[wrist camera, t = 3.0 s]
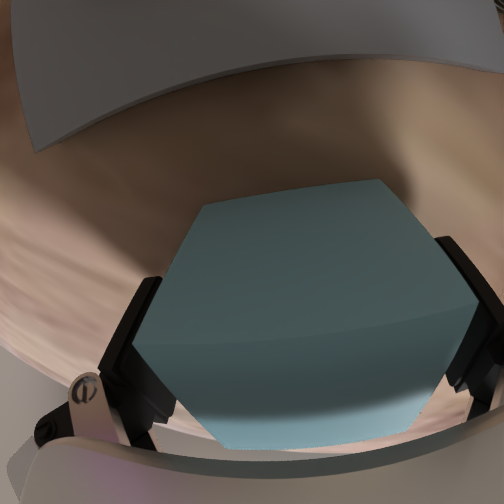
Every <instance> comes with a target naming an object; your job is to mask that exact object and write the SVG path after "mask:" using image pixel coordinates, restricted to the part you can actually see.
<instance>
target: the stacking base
mask: <svg viewBox="0 0 504 504" xmlns="http://www.w3.org/2000/svg"><path fill="white" fill-rule="evenodd" d="M11 35H12V48H13V57H14V65H15V72H16V78H17V84H18V89H19V94H20V99H21V104H22V108H23V112H24V116H25V120H26V124H27V128H28V132H29V135H30V139H31V142H32V145H33V148H34V152H35V153H37V152H40V151H42V150H44V149H46V148H48V147H50V146H53V145H55V144H57V143H60V142H62V141H63V140H65V139H67V138H69V137H70V136H72V135H74V134H76V133H78V132H80V131H81V130H83V129H85V128H87V127H89V126H91V125H93V124H95V123H97V122H99V121H101V120H103V119H105V118H108V117H110V116H112V115H114V114H116V113H118V112H121V111H123V110H125V109H128V108H130V107H132V106H135V105H137V104H140V103H142V102H145V101H147V100H150V99H153V98H155V97H158V96H161V95H164V94H167V93H169V92H172V91H175V90H178V89H182V88H185V87H188V86H191V85H195V84H198V83H201V82H205V81H209V80H212V79H216V78H220V77H224V76H228V75H232V74H237V73H241V72H246V71H251V70H256V69H262V68H267V67H273V66H279V65H286V64H294V63H302V62H311V61H323V60H338V59H399V60H413V61H424V62H433V63H440V64H447V65H453V66H459V67H465V68H470V69H474V70H479V71H483V72H491V73H500V74H504V35H503V30H502V26H501V23H500V19H499V16H498V12H497V9H496V6H495V3H494V0H11Z"/></svg>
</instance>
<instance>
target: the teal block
mask: <svg viewBox="0 0 504 504" xmlns="http://www.w3.org/2000/svg"><path fill="white" fill-rule="evenodd" d="M478 303H479V301H478V299H477V298H476V296H475V295H474V293H473V292H472V290H471V289H470V287H469V286H468V284H467V283H466V281H465V280H464V278H463V277H462V275H461V274H460V273H459V271H458V270H457V268H456V267H455V266H454V264H453V263H452V262H451V260H450V259H449V258H448V256H447V255H446V254H445V252H444V251H443V250H442V248H441V247H440V246H439V245H438V243H437V242H436V241H435V240H434V238H433V237H432V236H431V235H430V234H429V232H428V231H427V230H426V229H425V228H424V226H423V225H422V224H421V223H420V222H419V221H418V219H417V218H416V217H415V216H414V215H413V214H412V213H411V211H410V210H409V209H408V208H407V207H406V206H405V205H404V204H403V203H402V202H401V200H400V199H399V198H398V197H397V196H396V195H395V194H394V193H393V192H392V191H391V190H390V189H389V188H388V187H387V186H386V185H385V184H384V183H383V182H382V181H381V180H380V179H370V180H361V181H352V182H344V183H335V184H328V185H320V186H313V187H306V188H299V189H292V190H285V191H279V192H273V193H266V194H260V195H254V196H249V197H243V198H237V199H232V200H226V201H221V202H216V203H211V204H205V205H203V206H202V208H201V210H200V212H199V213H198V215H197V217H196V219H195V221H194V222H193V224H192V226H191V228H190V230H189V231H188V233H187V235H186V237H185V239H184V240H183V242H182V244H181V246H180V248H179V250H178V252H177V253H176V255H175V257H174V259H173V261H172V263H171V265H170V267H169V269H168V271H167V273H166V275H165V276H164V278H163V280H162V282H161V284H160V286H159V288H158V290H157V292H156V294H155V296H154V298H153V300H152V303H151V305H150V307H149V309H148V311H147V313H146V315H145V317H144V319H143V321H142V323H141V326H140V328H139V330H138V332H137V334H136V336H135V339H134V341H133V343H132V344H133V346H134V347H135V348H136V350H137V351H138V352H139V354H140V355H141V356H142V358H143V359H144V360H145V361H146V363H147V364H148V365H149V367H150V368H151V369H152V370H153V372H154V373H155V374H156V375H157V376H158V378H159V379H160V380H161V381H162V382H163V384H164V385H165V386H166V387H167V388H168V389H169V391H170V392H171V393H172V394H173V395H174V396H175V397H176V398H177V400H178V401H179V402H180V403H181V404H182V405H183V406H184V407H185V408H186V409H187V410H188V412H189V413H190V414H191V415H192V416H193V417H194V418H195V419H196V420H197V421H198V422H199V423H200V424H201V425H202V426H203V427H204V428H205V429H206V430H207V431H208V432H209V433H210V434H211V435H212V436H213V437H214V438H215V439H216V440H217V441H219V442H220V443H221V444H222V445H223V446H224V447H225V448H226V449H241V450H242V449H244V450H281V449H301V448H313V447H323V446H332V445H339V444H346V443H353V442H359V441H364V440H369V439H374V438H379V437H384V436H388V435H392V434H397V433H401V432H404V431H407V430H408V428H409V427H410V426H411V424H412V423H413V422H414V420H415V419H416V418H417V416H418V415H419V413H420V412H421V410H422V409H423V408H424V406H425V405H426V403H427V402H428V400H429V399H430V397H431V395H432V394H433V392H434V391H435V389H436V387H437V386H438V384H439V383H440V381H441V379H442V378H443V376H444V374H445V372H446V371H447V369H448V367H449V365H450V363H451V361H452V360H453V358H454V356H455V354H456V352H457V350H458V348H459V346H460V344H461V342H462V340H463V338H464V336H465V334H466V331H467V329H468V327H469V325H470V322H471V320H472V318H473V315H474V313H475V311H476V308H477V305H478Z"/></svg>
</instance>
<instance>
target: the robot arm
mask: <svg viewBox="0 0 504 504" xmlns="http://www.w3.org/2000/svg"><path fill="white" fill-rule="evenodd" d="M434 240H435V241H436V242H437V243H438V245H439V246H440V247H441V248H442V250H443V251H444V252H445V254H446V255H447V256H448V258H449V259H450V260H451V262H452V263H453V264H454V266H455V267H456V268H457V270H458V271H459V273H460V274H461V275H462V277H463V278H464V280H465V281H466V283H467V284H468V286H469V287H470V289H471V290H472V292H473V293H474V295H475V296H476V298H477V299H478V301H479V303H478V305H477V308H476V311H475V313H474V315H473V318H472V320H471V322H470V325H469V327H468V329H467V331H466V334H465V336H464V338H463V340H462V342H461V344H460V346H459V348H458V350H457V352H456V354H455V356H454V358H453V360H452V361H451V363H450V365H449V367H448V369H447V371H446V372H445V374H446V377H447V380H448V383H449V385H450V386H452V387H453V386H454V389H455V392H456V393H458V392H461V391H463V390H466V389H469V392H470V398H469V401H468V404H467V407H466V410H465V413H464V416H463V419H462V422H461V424H459V425H456V426H454V427H451V428H448V429H446V430H443V431H440V432H437V433H434V434H431V435H428V436H425V437H422V438H419V439H416V440H412V441H409V442H405V443H401V444H398V445H394V446H390V447H385V448H381V449H376V450H371V451H366V452H361V453H355V454H350V455H344V456H337V457H328V458H319V459H309V460H296V461H262V462H261V461H228V460H215V459H204V458H195V457H187V456H180V455H173V454H167V453H164V452H163V450H162V448H161V446H160V444H159V442H158V440H157V438H156V436H155V434H154V432H153V430H152V424H153V422H156V423H163V424H167V422H168V418H169V417H171V416H172V415H173V412H174V408H175V404H176V400H177V398H176V397H175V396H174V395H173V394H172V393H171V392H170V391H169V389H168V388H167V387H166V386H165V385H164V384H163V382H162V381H161V380H160V379H159V378H158V376H157V375H156V374H155V373H154V372H153V370H152V369H151V368H150V367H149V365H148V364H147V363H146V361H145V360H144V359H143V358H142V356H141V355H140V354H139V352H138V351H137V350H136V348H135V347H134V346H133V344H132V343H133V341H134V339H135V336H136V334H137V332H138V330H139V328H140V326H141V323H142V321H143V319H144V317H145V315H146V313H147V311H148V309H149V307H150V305H151V303H152V300H153V298H154V296H155V294H156V292H157V290H158V288H159V286H160V284H161V282H162V280H163V279H162V277H160V276H155V277H147V278H144V279H143V281H142V282H141V284H140V286H139V288H138V290H137V291H136V293H135V295H134V297H133V299H132V300H131V302H130V304H129V306H128V308H127V310H126V312H125V313H124V315H123V317H122V319H121V321H120V323H119V325H118V327H117V329H116V331H115V333H114V335H113V337H112V339H111V341H110V343H109V345H108V347H107V349H106V351H105V353H104V355H103V357H102V359H101V361H100V363H99V366H98V369H99V370H100V371H101V372H100V374H99V376H98V375H97V374H96V373H93V372H86V373H84V374H81V375H80V376H78V377H77V378H76V379H75V380H74V381H73V382H72V384H71V386H70V388H69V392H68V401H67V402H66V403H64V404H63V405H61V406H60V407H58V408H56V409H55V410H53V411H51V412H50V413H48V414H47V415H45V416H44V417H42V418H41V419H40V420H39V421H38V423H37V424H36V427H35V430H34V437H33V436H31V437H30V438H29V439H28V440H27V441H26V442H25V444H23V445H22V447H21V448H20V449H19V450H18V451H17V452H16V453H15V454H14V455H13V456H12V457H11V458H10V460H9V461H8V464H7V473H8V477H9V479H10V482H11V484H12V487H13V489H14V491H15V493H16V495H17V497H18V499H19V504H504V305H503V304H502V302H501V301H500V299H499V298H498V296H497V295H496V294H495V292H494V291H493V289H492V288H491V286H490V285H489V284H488V282H487V281H486V280H485V278H484V277H483V276H482V274H481V273H480V272H479V270H478V269H477V268H476V266H475V265H474V264H473V263H472V261H471V260H470V259H469V258H468V256H467V255H466V254H465V253H464V252H463V250H462V249H461V248H460V247H459V246H458V245H457V243H456V242H455V241H454V240H453V239H452V238H451V237H450V236H443V237H437V238H434Z"/></svg>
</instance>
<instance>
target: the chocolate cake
mask: <svg viewBox="0 0 504 504" xmlns="http://www.w3.org/2000/svg"><path fill="white" fill-rule="evenodd" d="M494 3H495V6H496V9H497V12H500V13H502V15H503V14H504V0H494Z"/></svg>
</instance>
